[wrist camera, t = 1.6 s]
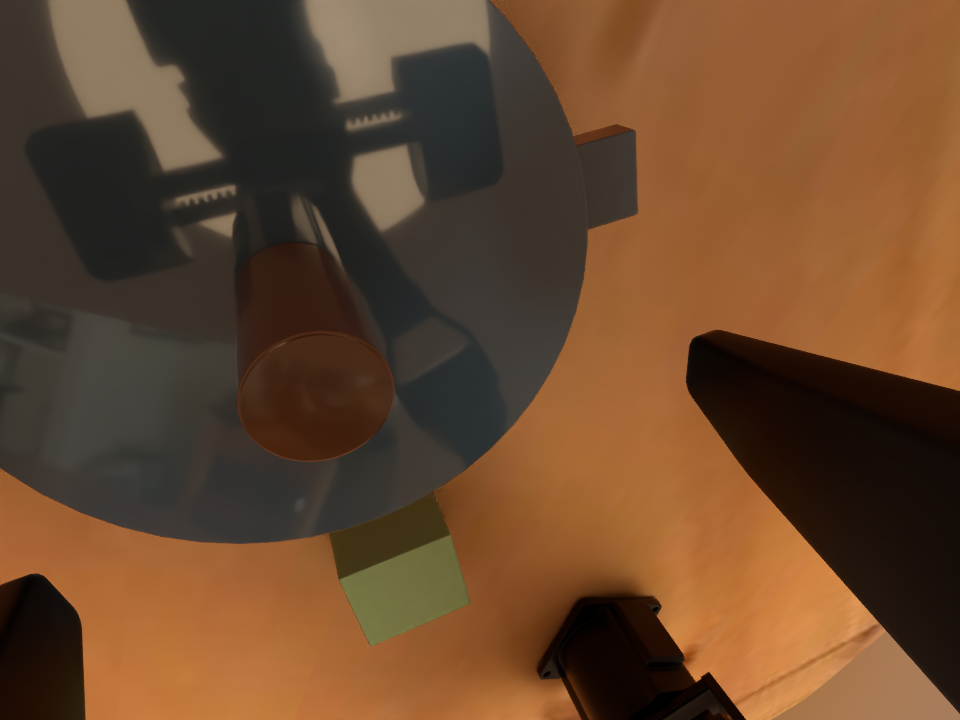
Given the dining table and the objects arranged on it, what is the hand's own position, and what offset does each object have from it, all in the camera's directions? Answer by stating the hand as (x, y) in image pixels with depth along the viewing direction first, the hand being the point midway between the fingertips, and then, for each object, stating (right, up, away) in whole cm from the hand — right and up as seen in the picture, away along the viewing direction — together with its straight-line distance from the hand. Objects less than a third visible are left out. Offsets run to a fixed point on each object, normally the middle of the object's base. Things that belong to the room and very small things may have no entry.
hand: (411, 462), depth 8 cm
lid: (-3, +3, +6) cm, 8 cm away
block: (-3, -6, +19) cm, 20 cm away
